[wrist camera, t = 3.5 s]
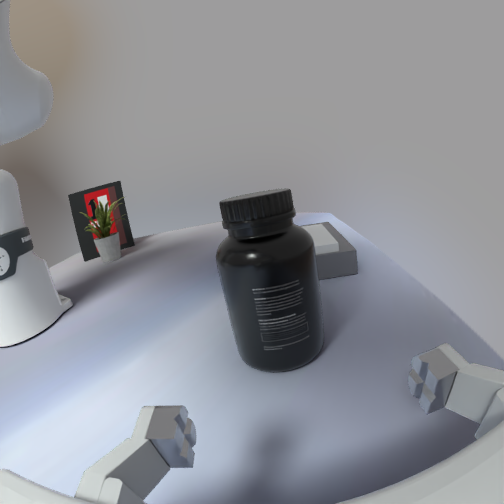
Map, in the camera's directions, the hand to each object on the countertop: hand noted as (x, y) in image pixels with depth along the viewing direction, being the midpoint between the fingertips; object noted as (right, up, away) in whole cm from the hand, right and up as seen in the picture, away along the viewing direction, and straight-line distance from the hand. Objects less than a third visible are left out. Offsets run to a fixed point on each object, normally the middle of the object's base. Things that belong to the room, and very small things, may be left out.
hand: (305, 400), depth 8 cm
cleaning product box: (-46, +5, +71) cm, 85 cm away
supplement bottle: (+1, -3, +13) cm, 13 cm away
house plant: (-36, +3, +58) cm, 69 cm away
